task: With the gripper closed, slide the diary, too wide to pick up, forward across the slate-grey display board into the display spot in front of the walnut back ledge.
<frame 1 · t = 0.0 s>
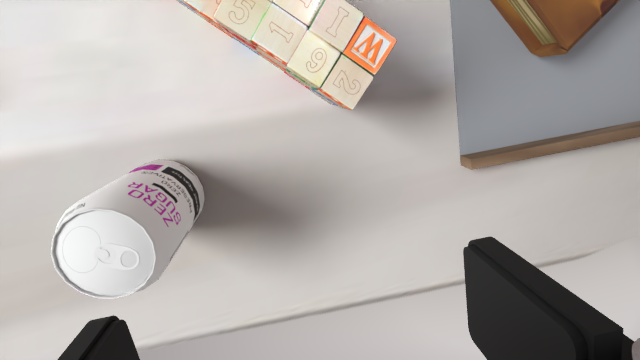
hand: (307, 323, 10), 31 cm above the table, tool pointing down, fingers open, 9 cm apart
stack of blocks: (261, 21, 37), on the table
supplement can: (168, 194, 40), on the table
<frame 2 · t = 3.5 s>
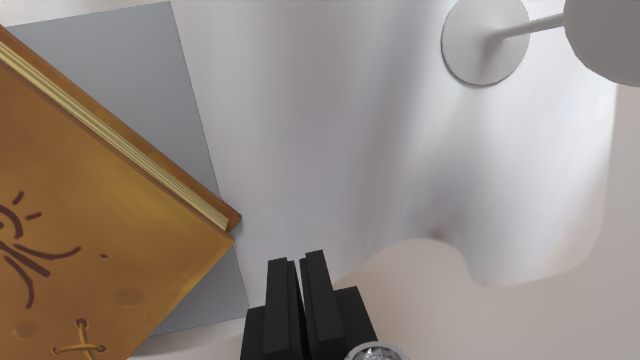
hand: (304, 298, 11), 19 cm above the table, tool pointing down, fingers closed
diary: (49, 209, 28), resting on display board
wineglass: (483, 38, 28), on the table
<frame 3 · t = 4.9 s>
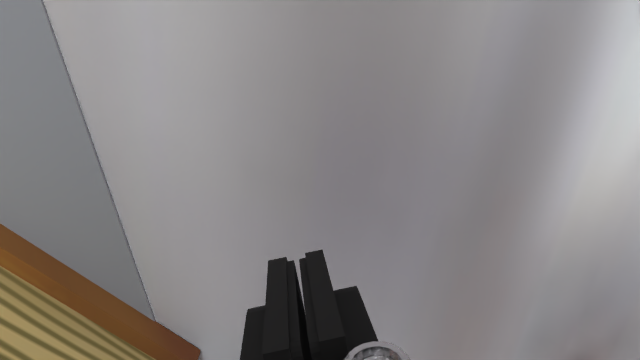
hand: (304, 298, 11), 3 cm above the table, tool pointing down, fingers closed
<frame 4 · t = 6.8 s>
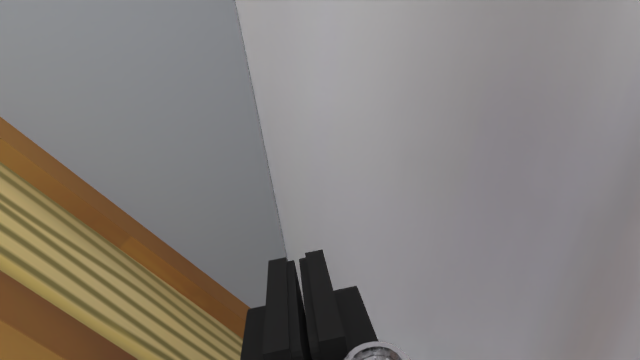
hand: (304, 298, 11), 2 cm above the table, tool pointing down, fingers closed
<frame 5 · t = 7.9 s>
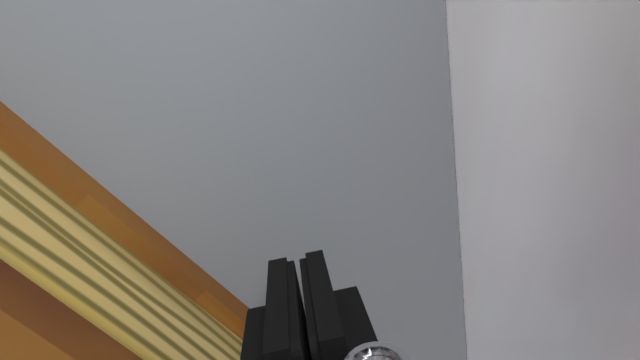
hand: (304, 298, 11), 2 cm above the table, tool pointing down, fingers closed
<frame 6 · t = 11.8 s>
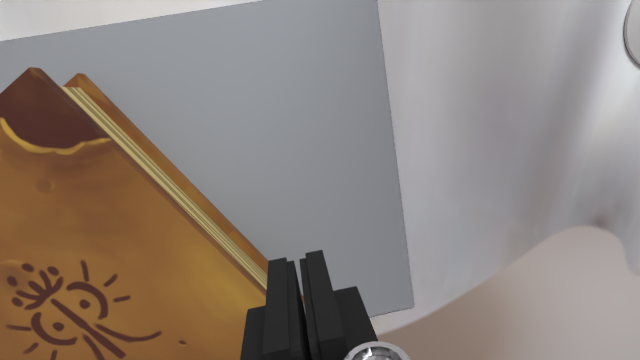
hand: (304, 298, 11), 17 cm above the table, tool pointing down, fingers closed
diary: (115, 273, 27), resting on display board
display board: (151, 211, 27), on the table
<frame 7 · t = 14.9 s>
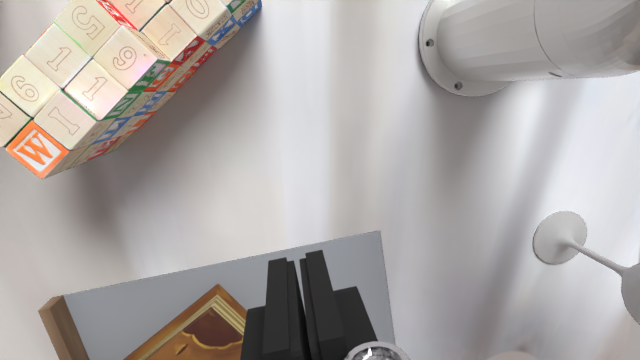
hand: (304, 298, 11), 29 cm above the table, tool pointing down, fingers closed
stack of blocks: (164, 57, 36), on the table
wineglass: (558, 236, 46), on the table
display board: (246, 354, 45), on the table
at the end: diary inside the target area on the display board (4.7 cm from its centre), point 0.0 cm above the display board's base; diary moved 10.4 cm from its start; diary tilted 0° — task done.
